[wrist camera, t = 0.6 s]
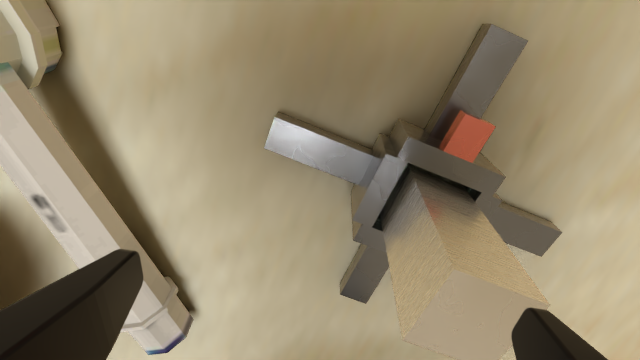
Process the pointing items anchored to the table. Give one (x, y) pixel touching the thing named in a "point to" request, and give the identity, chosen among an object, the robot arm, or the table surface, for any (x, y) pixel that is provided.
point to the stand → (422, 160)
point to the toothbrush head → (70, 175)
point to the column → (452, 270)
